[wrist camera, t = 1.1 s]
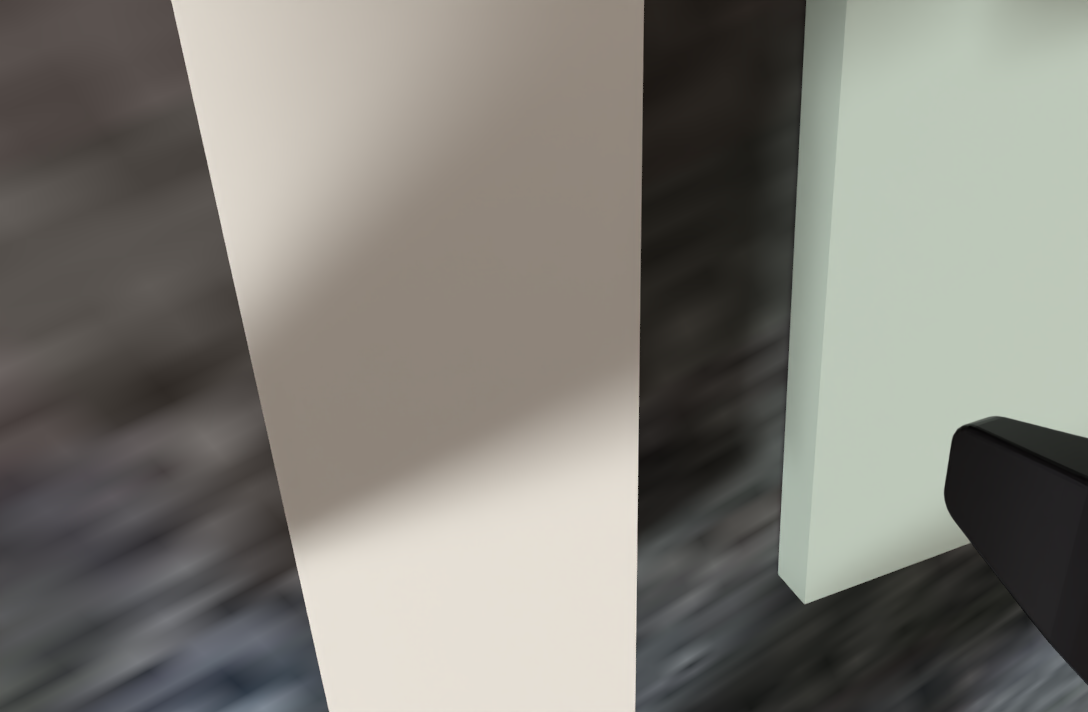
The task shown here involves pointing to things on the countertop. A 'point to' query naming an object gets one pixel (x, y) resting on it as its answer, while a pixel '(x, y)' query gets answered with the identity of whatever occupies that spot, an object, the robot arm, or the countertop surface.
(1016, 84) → the bracket board
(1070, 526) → the robot arm
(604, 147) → the block
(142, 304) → the countertop surface
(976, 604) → the countertop surface
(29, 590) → the countertop surface
